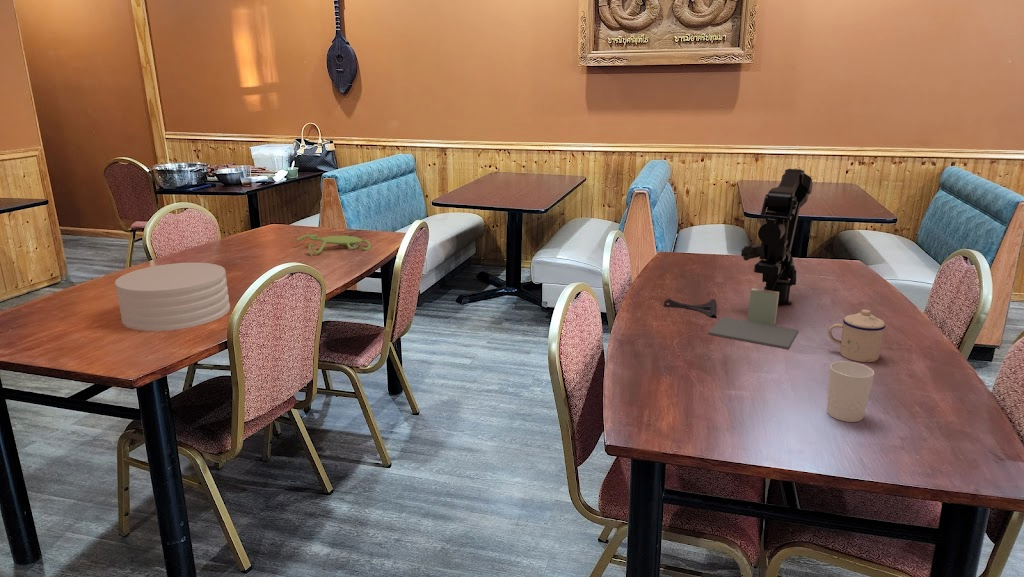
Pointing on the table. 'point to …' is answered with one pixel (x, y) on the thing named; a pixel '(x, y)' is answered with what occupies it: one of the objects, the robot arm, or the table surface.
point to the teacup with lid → (860, 336)
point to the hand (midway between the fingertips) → (769, 291)
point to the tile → (763, 306)
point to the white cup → (848, 390)
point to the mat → (754, 332)
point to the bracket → (695, 307)
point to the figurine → (336, 241)
